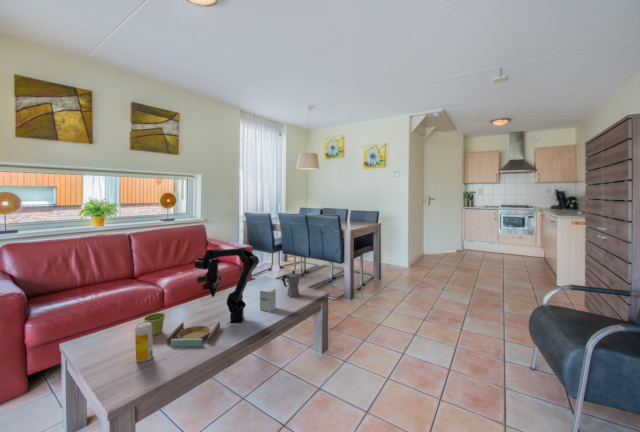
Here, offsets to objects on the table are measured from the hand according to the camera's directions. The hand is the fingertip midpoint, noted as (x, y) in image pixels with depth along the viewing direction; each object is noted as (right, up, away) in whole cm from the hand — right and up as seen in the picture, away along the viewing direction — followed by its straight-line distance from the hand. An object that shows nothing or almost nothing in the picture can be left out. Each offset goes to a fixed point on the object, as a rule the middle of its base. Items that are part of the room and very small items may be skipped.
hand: (213, 296), depth 158 cm
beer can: (-13, -14, -42) cm, 46 cm away
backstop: (0, -14, -31) cm, 34 cm away
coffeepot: (+42, -11, +38) cm, 58 cm away
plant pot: (-22, -13, -20) cm, 32 cm away
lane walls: (-1, -13, -22) cm, 25 cm away
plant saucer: (-1, -14, -23) cm, 27 cm away
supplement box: (+29, -12, +13) cm, 34 cm away
